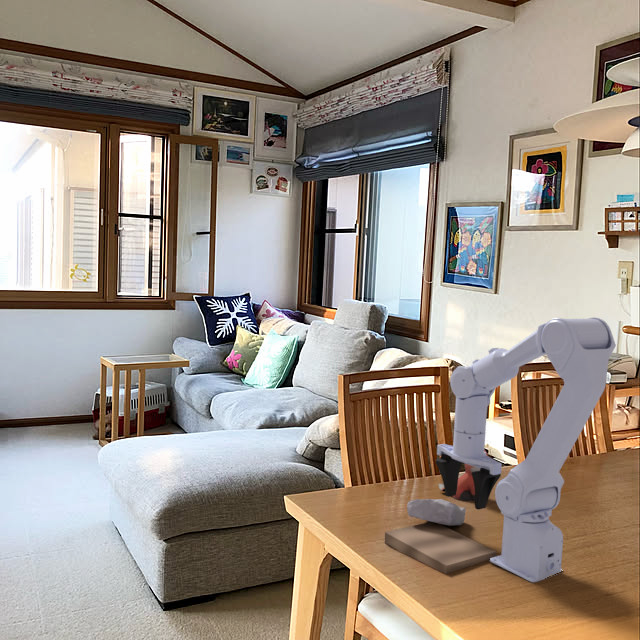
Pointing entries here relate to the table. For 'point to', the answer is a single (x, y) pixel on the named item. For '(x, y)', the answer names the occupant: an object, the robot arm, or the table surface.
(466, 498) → the stuffed fox
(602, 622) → the table surface
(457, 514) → the stone block
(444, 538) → the walnut base
